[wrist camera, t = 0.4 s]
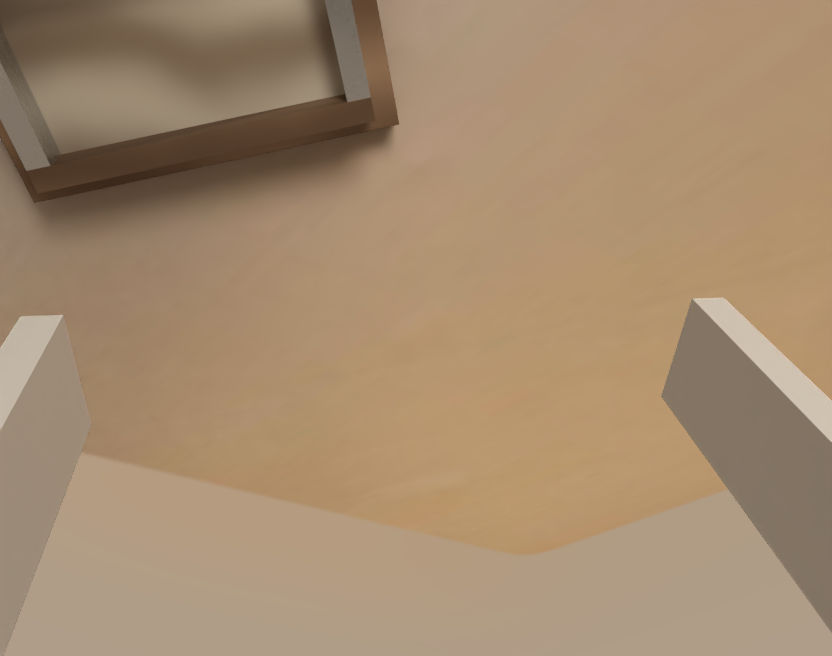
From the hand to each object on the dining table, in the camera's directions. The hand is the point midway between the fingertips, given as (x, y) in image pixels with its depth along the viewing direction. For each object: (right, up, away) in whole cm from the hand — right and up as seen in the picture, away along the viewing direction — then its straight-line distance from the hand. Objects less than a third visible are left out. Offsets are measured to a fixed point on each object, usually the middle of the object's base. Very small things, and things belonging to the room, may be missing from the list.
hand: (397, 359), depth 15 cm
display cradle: (-12, +15, +20) cm, 28 cm away
